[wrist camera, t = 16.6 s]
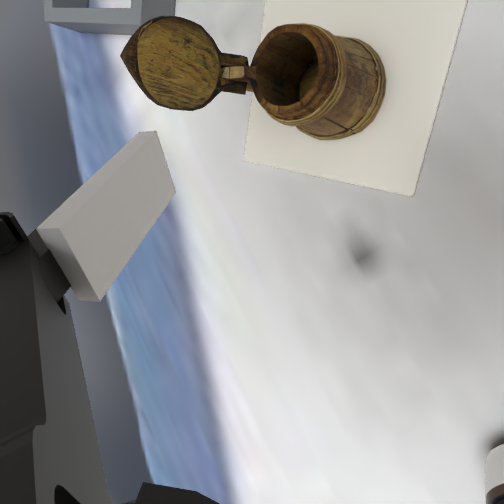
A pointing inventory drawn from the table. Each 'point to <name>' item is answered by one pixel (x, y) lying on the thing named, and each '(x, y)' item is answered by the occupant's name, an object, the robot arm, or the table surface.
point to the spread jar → (495, 476)
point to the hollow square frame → (105, 15)
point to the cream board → (395, 100)
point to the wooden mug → (263, 74)
